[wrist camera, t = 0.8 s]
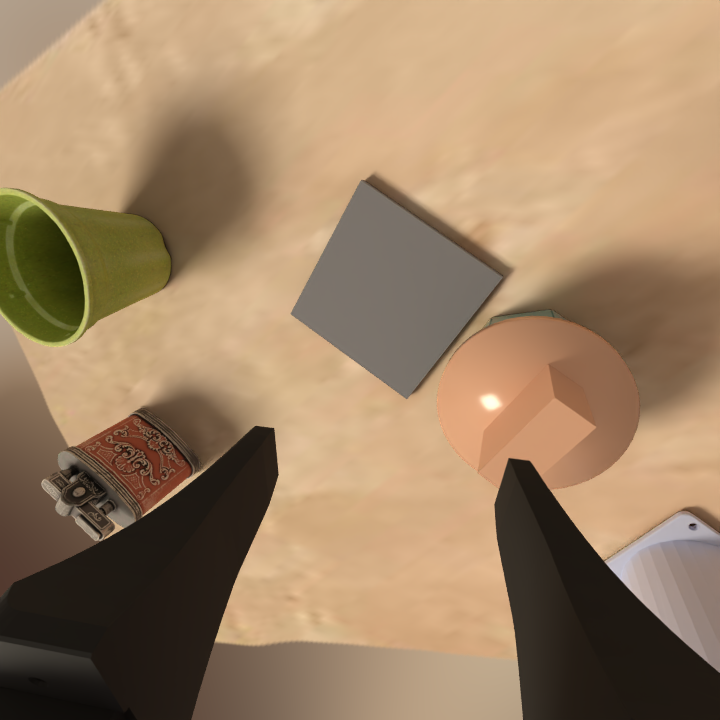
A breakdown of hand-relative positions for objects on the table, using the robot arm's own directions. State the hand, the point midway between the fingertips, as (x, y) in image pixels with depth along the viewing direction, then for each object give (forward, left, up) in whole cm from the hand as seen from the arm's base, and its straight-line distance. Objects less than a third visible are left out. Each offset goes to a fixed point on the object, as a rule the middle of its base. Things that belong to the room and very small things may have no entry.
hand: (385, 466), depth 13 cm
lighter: (+15, +24, -15) cm, 33 cm away
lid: (-5, -1, -11) cm, 12 cm away
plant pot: (+23, +9, -15) cm, 29 cm away
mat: (+5, 0, -15) cm, 16 cm away
